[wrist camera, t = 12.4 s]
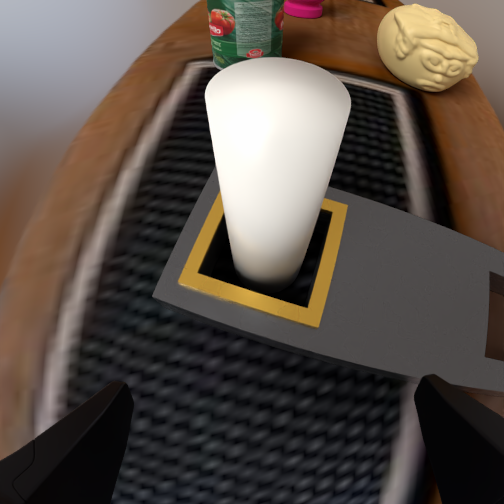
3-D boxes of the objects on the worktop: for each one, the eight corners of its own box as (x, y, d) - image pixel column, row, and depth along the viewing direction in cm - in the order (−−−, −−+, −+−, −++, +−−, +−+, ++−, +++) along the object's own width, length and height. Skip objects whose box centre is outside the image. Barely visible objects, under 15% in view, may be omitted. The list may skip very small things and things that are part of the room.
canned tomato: (296, 61, 29) (302, -22, 19) (243, 83, 27) (239, -13, 17) (250, 40, 32) (248, -33, 22) (199, 60, 30) (188, -21, 20)
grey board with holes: (528, 284, 18) (548, 272, 15) (521, 398, 14) (544, 395, 11) (223, 180, 22) (219, 155, 19) (164, 308, 18) (150, 294, 15)
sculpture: (387, 94, 27) (413, 12, 17) (361, 47, 32) (374, -18, 22) (466, 114, 27) (499, 48, 17) (431, 63, 32) (450, 7, 22)
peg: (306, 288, 18) (372, 135, 7) (237, 297, 18) (206, 145, 7) (294, 228, 20) (326, 57, 9) (231, 235, 20) (204, 63, 9)
